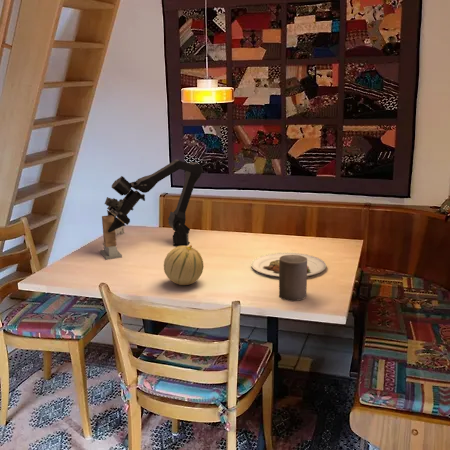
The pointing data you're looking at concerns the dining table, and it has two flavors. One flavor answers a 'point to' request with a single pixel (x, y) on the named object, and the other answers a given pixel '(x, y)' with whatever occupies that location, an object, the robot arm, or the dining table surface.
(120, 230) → the caliper
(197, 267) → the cantaloupe
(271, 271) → the plated food
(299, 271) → the pillar candle
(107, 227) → the walnut post
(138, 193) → the robot arm
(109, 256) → the grey box
